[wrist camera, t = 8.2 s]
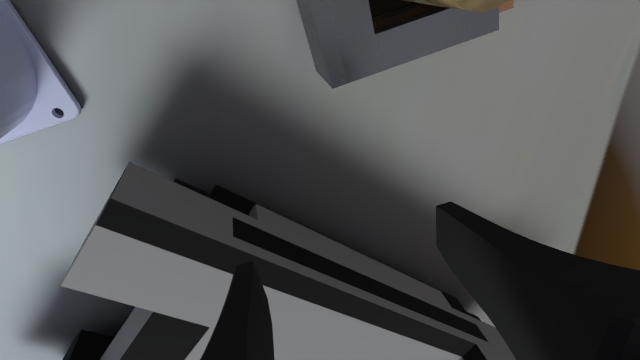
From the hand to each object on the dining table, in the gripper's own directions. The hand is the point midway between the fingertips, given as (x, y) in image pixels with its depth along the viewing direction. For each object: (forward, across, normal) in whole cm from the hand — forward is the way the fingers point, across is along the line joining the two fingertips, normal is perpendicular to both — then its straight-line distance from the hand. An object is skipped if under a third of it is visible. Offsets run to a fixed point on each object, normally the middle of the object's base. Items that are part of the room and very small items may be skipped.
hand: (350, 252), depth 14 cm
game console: (+11, +6, +16) cm, 20 cm away
